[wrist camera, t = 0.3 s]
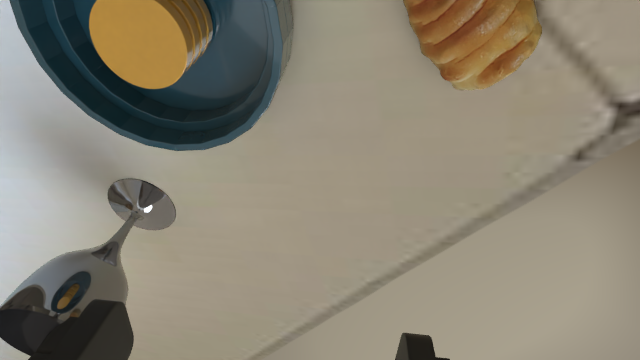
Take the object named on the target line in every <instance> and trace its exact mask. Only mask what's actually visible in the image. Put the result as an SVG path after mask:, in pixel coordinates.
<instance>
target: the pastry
mask: <svg viewBox="0 0 640 360" xmlns="http://www.w3.org/2000/svg"><path fill="white" fill-rule="evenodd" d="M403 1H404V4H405V6H406V8H407V11H408V16H409V21H410V25H411V27H412V29H413V31H414V32H415V34H416V35H417V37H418V39H419V41H420V48H421V52H422V54H424V55H425V56H426V57H428V58H430V59H431V61H432V62H433V63H434V64H435V65H436V67H437V68H438V69H439V70H440V74H441V76H442V77H443V78H444V79H445V80H447V81H450V82H451V83H452V86H453V87H454V88H455V89H458V90H471V91H472V90H475V89H484V88H488V87H490V86H492V85H493V84H495V83H497V82H499V81H500V80H502V79H504V78H505V77H507V76H508V75H510V74H511V73H513V72H514V71H516V70H517V69H518V68H519V67H520V65H521V64H522V63H523V61H524V60H526V59H527V58H529V56H530V55H531V54H532V52H533V51H534V50H535V48H536V46H537V44H538V41H539V39H540V36H541V34H542V27H541V25H540V23H539V22H538V19H537V16H536V14H537V12H536V8H535V5H534V1H533V0H403Z"/></svg>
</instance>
